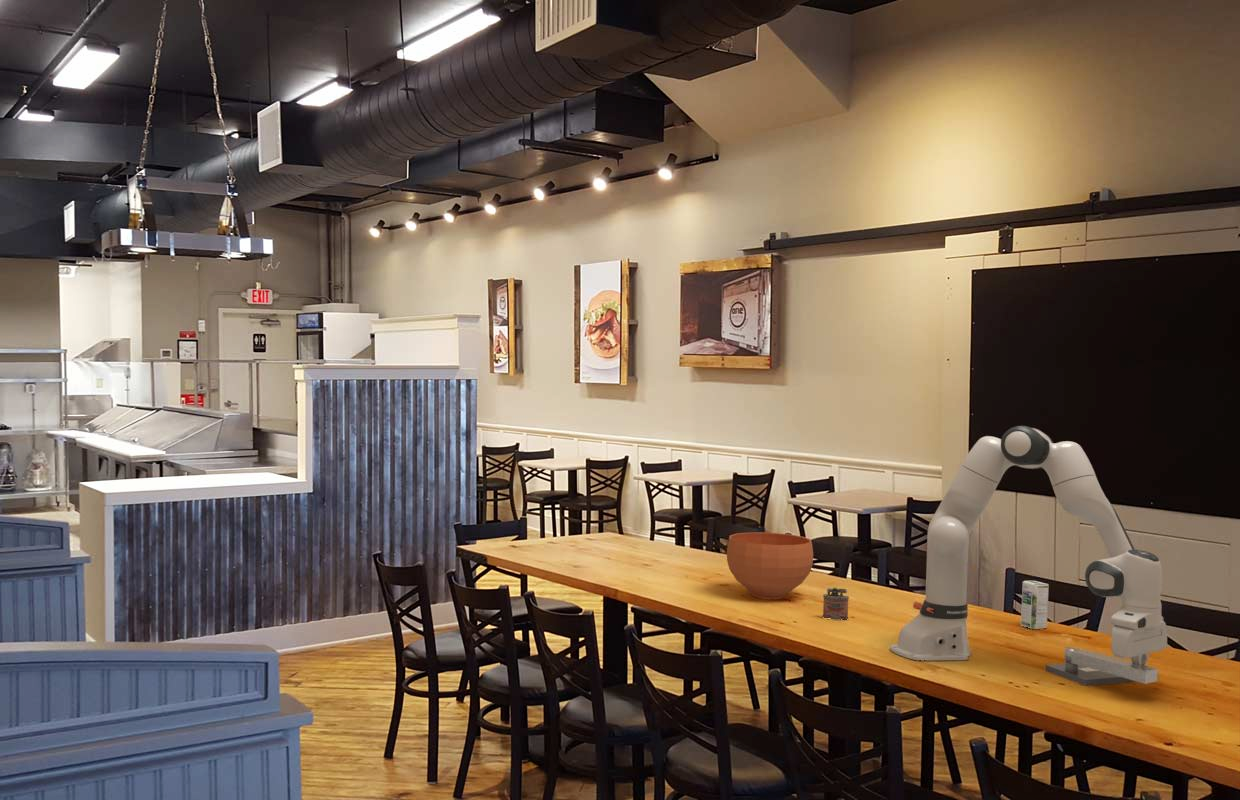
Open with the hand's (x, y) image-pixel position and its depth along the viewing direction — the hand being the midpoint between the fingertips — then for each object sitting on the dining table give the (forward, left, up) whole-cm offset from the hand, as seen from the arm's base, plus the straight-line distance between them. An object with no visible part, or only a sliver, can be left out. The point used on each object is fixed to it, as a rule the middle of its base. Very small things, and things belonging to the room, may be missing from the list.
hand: (1139, 671), depth 251 cm
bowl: (-38, +124, -6) cm, 130 cm away
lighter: (-33, +88, -6) cm, 94 cm away
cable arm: (-5, +5, -1) cm, 7 cm away
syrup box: (+24, +63, -6) cm, 67 cm away
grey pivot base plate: (+3, +15, -5) cm, 16 cm away
